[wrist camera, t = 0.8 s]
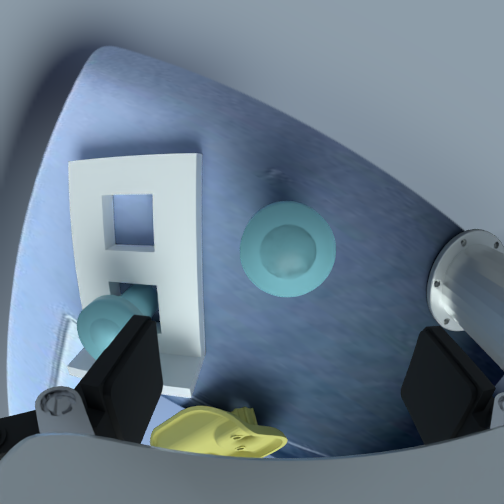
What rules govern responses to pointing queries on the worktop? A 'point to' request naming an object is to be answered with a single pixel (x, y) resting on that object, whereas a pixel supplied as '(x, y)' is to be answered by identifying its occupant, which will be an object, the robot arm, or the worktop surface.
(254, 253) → the teal round plug
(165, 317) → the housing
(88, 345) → the teal flanged peg
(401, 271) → the worktop surface
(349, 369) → the worktop surface
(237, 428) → the plastic component
